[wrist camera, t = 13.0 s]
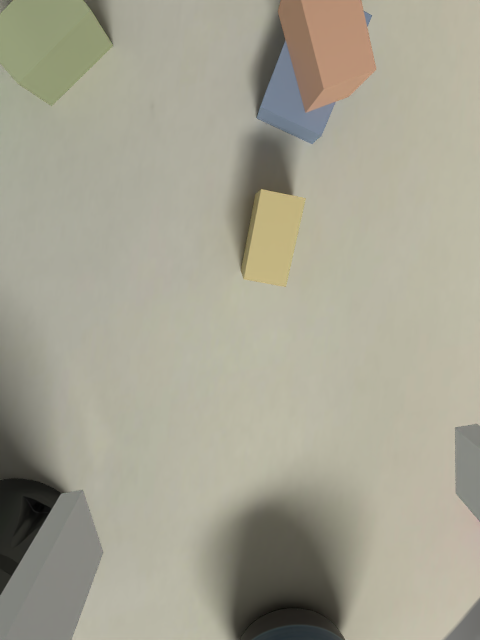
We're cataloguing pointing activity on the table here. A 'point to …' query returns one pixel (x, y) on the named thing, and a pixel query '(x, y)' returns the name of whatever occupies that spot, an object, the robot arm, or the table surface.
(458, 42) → the table surface
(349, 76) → the brick terracotta
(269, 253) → the brick ochre
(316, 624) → the vase
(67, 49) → the brick olive
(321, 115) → the brick slate
